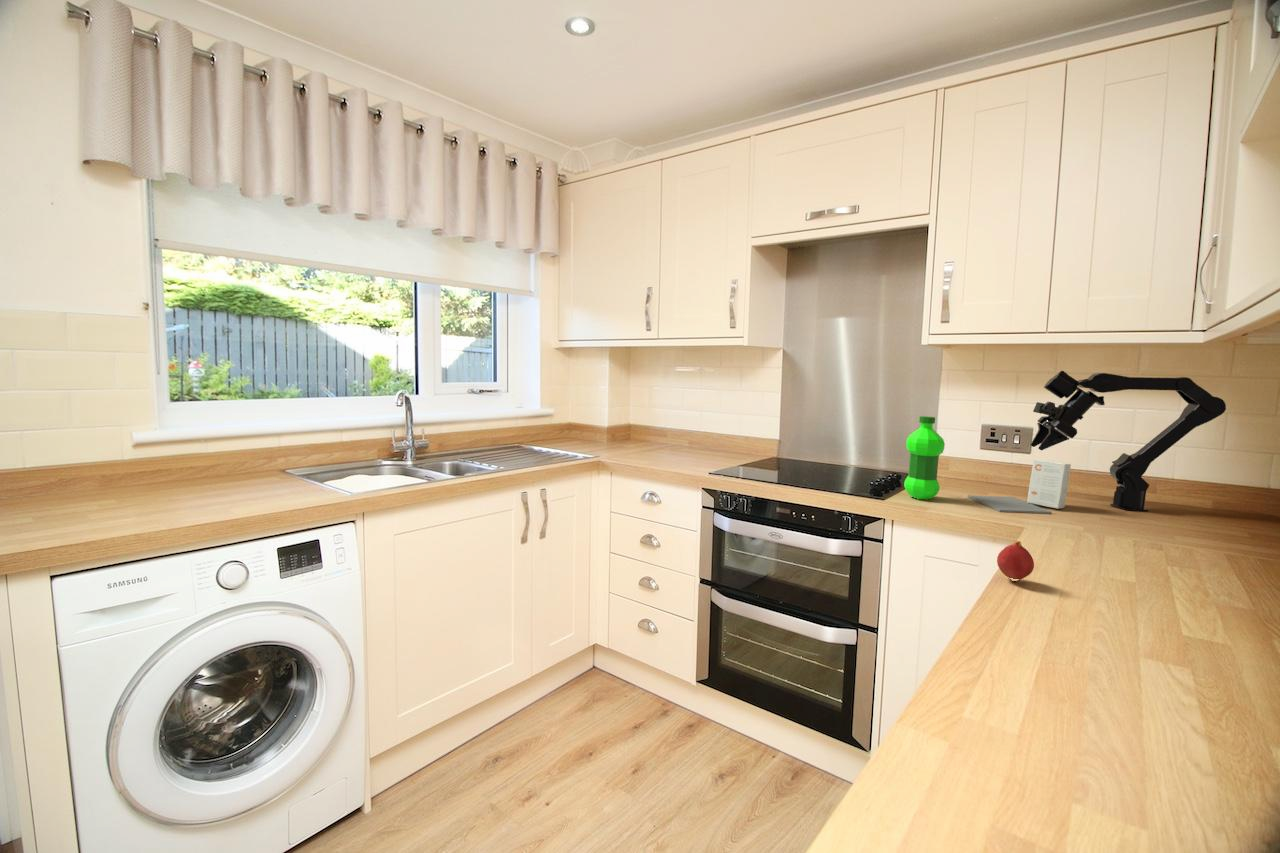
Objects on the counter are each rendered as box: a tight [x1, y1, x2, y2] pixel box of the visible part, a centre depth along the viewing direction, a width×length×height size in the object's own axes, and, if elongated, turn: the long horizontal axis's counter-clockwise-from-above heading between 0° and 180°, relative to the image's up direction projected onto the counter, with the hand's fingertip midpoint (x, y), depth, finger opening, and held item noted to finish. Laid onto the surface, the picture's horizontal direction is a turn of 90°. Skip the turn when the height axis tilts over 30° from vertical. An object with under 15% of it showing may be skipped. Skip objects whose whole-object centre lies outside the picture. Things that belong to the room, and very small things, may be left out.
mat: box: [967, 494, 1052, 515], centre depth 173 cm, size 14×18×1 cm
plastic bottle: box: [903, 415, 945, 500], centre depth 178 cm, size 10×10×25 cm
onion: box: [996, 540, 1035, 580], centre depth 110 cm, size 6×6×8 cm
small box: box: [1026, 459, 1072, 510], centre depth 172 cm, size 8×6×13 cm
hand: (1035, 447), depth 181 cm, fingers open, 9 cm apart
